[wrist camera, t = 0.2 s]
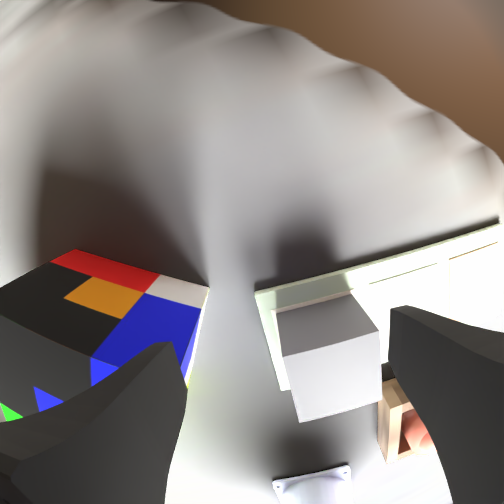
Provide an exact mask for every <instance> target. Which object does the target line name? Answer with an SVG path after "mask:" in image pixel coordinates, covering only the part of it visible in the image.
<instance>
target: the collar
mask: <svg viewBox="0 0 504 504" xmlns="http://www.w3.org/2000/svg"><path fill="white" fill-rule="evenodd" d="M411 409H414V407H413V406H412V404H411V403H410V401H409V399H408V398H407V396H406V395H405V393H404V391H403V390H402V388H401V387H400V385H399V383H398V382H397V380H396V378H393V379H390V380H388V381H385V382H382V400H381V401H378V433H377V441H378V444H379V446H380V449H381V451H382V454H383V456H384V459H385V461H386V464H388V463H391V462H394V461H396V460H399V459H402V458H404V457H407V456H409V455H412V454H414V453H413V452H412V449H411V447H410V445H409V443H408V441H407V439H406V437H405V435H404V433H403V431H402V430H401V418H402V413H404V412H406V411H409V410H411Z"/></svg>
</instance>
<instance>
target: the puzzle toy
mask: <svg viewBox="0 0 504 504" xmlns="http://www.w3.org/2000/svg"><path fill="white" fill-rule="evenodd" d="M209 289H210V288H209V287H205V286H202V285H198V284H194V283H190V282H187V281H183V280H179V279H176V278H172V277H168V276H165V275H161V274H158V273H154V272H150V271H147V270H143V269H140V268H137V267H133V266H130V265H126V264H123V263H120V262H116V261H113V260H110V259H106V258H103V257H100V256H96V255H93V254H90V253H87V252H84V251H80V250H77V249H74V250H72V251H70V252H68V253H66V254H64V255H62V256H60V257H58V258H56V259H54V260H52V261H50V262H48V263H46V264H44V265H42V266H40V267H38V268H36V269H34V270H32V271H30V272H28V273H26V274H25V275H23V276H21V277H19V278H17V279H15V280H13V281H12V282H10V283H8V284H6V285H4V286H3V287H1V288H0V403H1V406H2V409H3V412H4V415H5V417H6V420H7V421H11V420H15V419H18V418H22V417H26V416H29V415H32V414H35V413H38V412H41V411H43V410H45V409H48V408H50V407H53V406H55V405H58V404H60V403H62V402H64V401H67V400H68V399H70V398H72V397H74V396H76V395H78V394H80V393H82V392H83V391H85V390H87V389H89V388H90V387H92V386H93V385H95V384H96V383H98V382H99V381H101V380H102V379H104V378H105V377H107V376H108V375H110V374H111V373H113V372H114V371H116V370H117V369H118V368H120V367H121V366H122V365H124V364H125V363H126V362H128V361H129V360H130V359H132V358H133V357H134V356H136V355H137V354H139V353H140V352H141V351H143V350H144V349H146V348H147V347H148V346H150V345H152V344H153V343H155V342H169V341H172V343H173V346H174V349H175V352H176V356H177V359H178V362H179V365H180V368H181V371H182V374H183V377H184V380H185V383H186V386H187V389H188V385H189V380H190V375H191V370H192V365H193V361H194V356H195V351H196V347H197V342H198V337H199V333H200V328H201V324H202V319H203V315H204V311H205V306H206V302H207V297H208V293H209Z"/></svg>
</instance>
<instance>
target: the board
mask: <svg viewBox="0 0 504 504" xmlns="http://www.w3.org/2000/svg"><path fill="white" fill-rule="evenodd" d="M503 266H504V228H503V224H500V223H498V224H495V225H492V226H489V227H486V228H483V229H479V230H476V231H473V232H470V233H467V234H464V235H461V236H457V237H454V238H451V239H448V240H444V241H441V242H438V243H434V244H431V245H428V246H424V247H421V248H418V249H414V250H411V251H407V252H404V253H400V254H397V255H393V256H390V257H386V258H383V259H379V260H376V261H372V262H368V263H365V264H361V265H357V266H354V267H350V268H346V269H343V270H339V271H335V272H331V273H327V274H324V275H320V276H316V277H312V278H308V279H304V280H300V281H296V282H292V283H288V284H284V285H280V286H276V287H272V288H267V289H263V290H259V291H255V292H254V296H255V299H256V303H257V306H258V310H259V314H260V317H261V321H262V325H263V328H264V332H265V335H266V339H267V342H268V346H269V350H270V353H271V357H272V360H273V364H274V367H275V371H276V375H277V378H278V382H279V385H280V389H281V391H284V390H289V389H290V385H289V381H288V377H287V374H286V370H285V366H284V362H283V358H282V352H281V345H280V339H279V332H278V325H277V319H276V313H279V312H283V311H288V310H292V309H296V308H300V307H304V306H308V305H312V304H315V303H319V302H323V301H327V300H331V299H334V298H338V297H342V296H345V295H349V294H352V295H353V296H354V297H355V299H356V300H357V301H358V303H359V304H360V305H361V307H362V308H363V309H364V311H365V312H366V313H367V314H368V316H369V317H370V318H371V320H372V321H373V322H374V324H375V325H376V326H377V328H378V329H379V331H380V346H381V364H383V363H386V362H389V361H388V345H389V325H390V308H393V307H398V306H402V305H411V306H414V307H418V308H421V309H424V310H427V311H430V312H433V313H436V314H438V315H441V316H444V317H447V318H450V319H453V320H456V321H459V322H462V323H465V324H469V325H472V326H477V325H479V324H481V323H483V322H485V321H487V320H489V319H491V318H493V317H495V316H497V315H499V314H500V309H501V299H502V286H503Z"/></svg>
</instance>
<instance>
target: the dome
mask: <svg viewBox="0 0 504 504" xmlns="http://www.w3.org/2000/svg"><path fill="white" fill-rule="evenodd" d="M401 430H402V431H403V433H404V435H405V437H406V439H407V441H408V443H409V445H410V447H411V449H412V452H413V453H414V454H415V455H418V456H424V455H428V454H431V453H437V451H436V449H435V446H434V444H433V441H432V439H431V437H430V435H429V433H428V431H427V429H426V427H425V425H424V424H423V422H422V420H421V419H420V417H419V416H418V414H417V412H416V411H415V409H411V410H409V411H406V412H404V413H403V414H402V418H401Z"/></svg>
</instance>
